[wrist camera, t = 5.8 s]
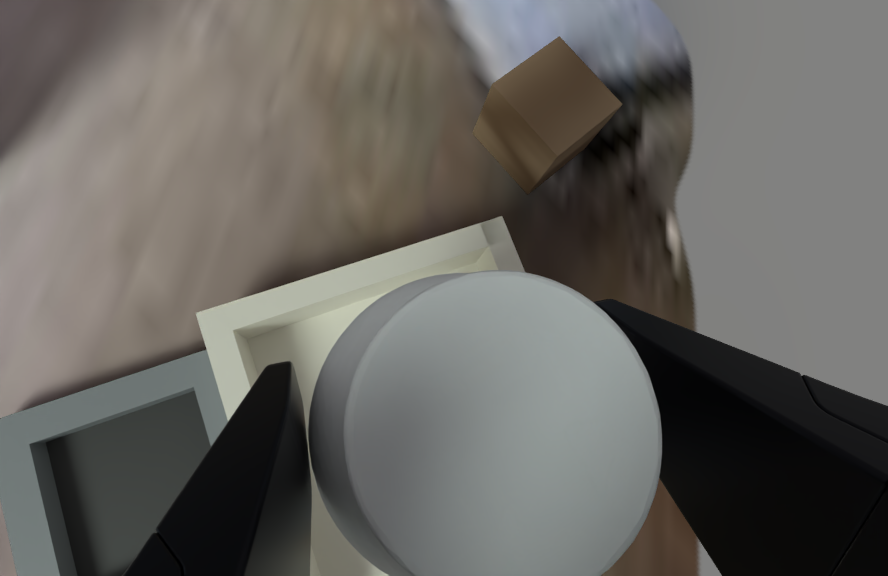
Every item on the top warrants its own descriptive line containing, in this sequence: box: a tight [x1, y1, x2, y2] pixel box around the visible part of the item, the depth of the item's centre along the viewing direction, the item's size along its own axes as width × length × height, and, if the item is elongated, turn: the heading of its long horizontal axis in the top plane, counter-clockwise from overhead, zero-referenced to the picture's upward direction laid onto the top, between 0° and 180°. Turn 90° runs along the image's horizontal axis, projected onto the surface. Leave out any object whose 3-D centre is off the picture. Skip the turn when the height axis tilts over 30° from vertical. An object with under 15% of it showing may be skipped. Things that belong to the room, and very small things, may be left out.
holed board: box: [0, 349, 228, 576], centre depth 19 cm, size 8×8×1 cm
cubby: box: [196, 216, 525, 576], centre depth 20 cm, size 12×12×3 cm
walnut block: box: [473, 36, 622, 195], centre depth 24 cm, size 4×4×4 cm
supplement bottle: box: [308, 270, 662, 576], centre depth 11 cm, size 5×5×10 cm
